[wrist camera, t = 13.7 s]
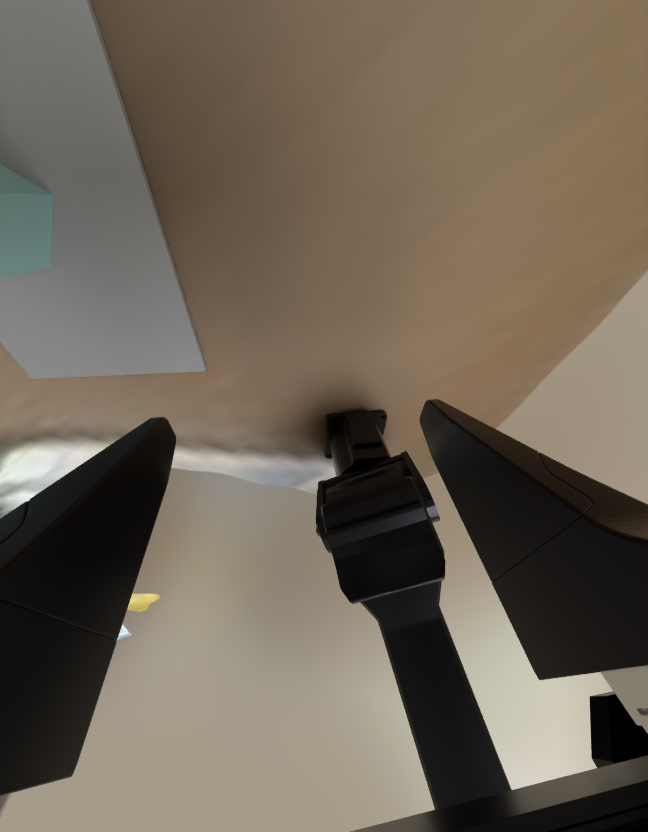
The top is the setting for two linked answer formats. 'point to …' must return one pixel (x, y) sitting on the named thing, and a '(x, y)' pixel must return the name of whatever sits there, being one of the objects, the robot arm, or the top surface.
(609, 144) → the top surface
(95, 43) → the placemat
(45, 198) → the mint green pillar
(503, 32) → the top surface
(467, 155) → the top surface
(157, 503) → the robot arm
